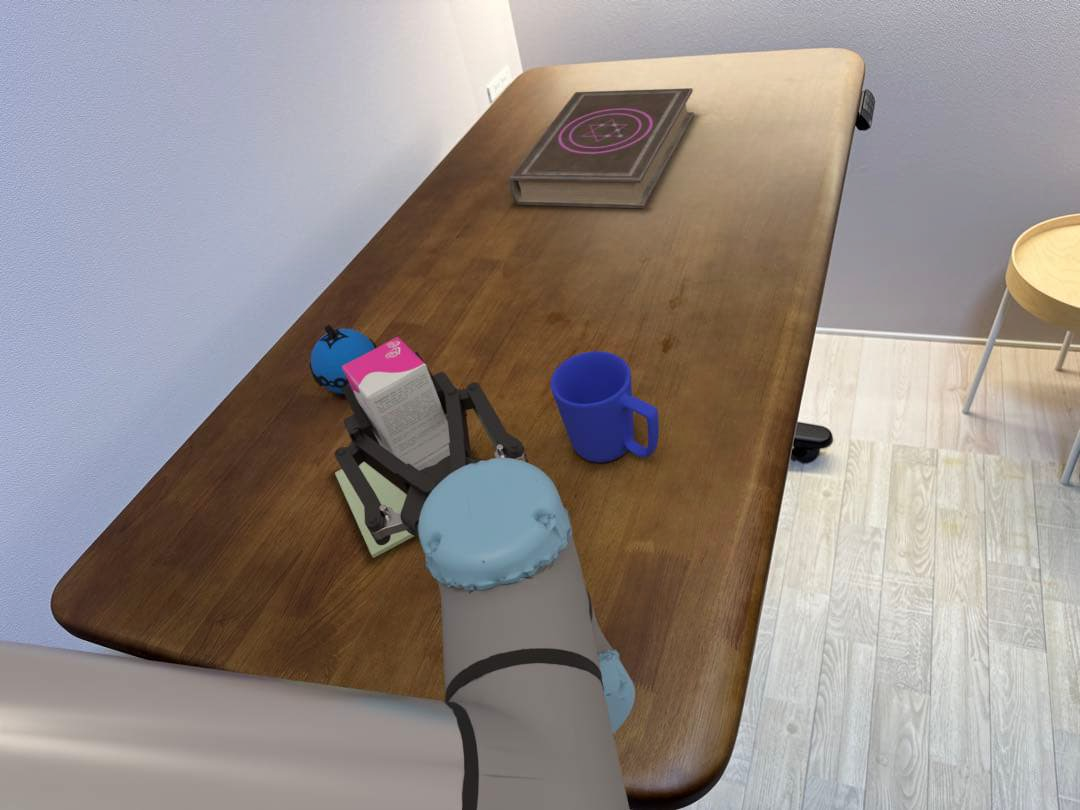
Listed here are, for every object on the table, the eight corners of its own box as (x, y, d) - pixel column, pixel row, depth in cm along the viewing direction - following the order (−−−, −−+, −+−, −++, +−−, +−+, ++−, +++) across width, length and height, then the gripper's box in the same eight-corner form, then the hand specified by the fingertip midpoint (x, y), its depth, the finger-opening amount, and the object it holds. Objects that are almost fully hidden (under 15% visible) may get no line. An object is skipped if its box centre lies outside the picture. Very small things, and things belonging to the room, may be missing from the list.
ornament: (400, 380, 101) (374, 320, 94) (345, 418, 97) (313, 358, 91) (367, 355, 106) (339, 296, 99) (313, 390, 103) (281, 331, 96)
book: (643, 208, 119) (640, 179, 115) (513, 204, 128) (506, 177, 124) (694, 115, 137) (692, 87, 134) (577, 117, 146) (572, 91, 143)
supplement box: (464, 456, 72) (427, 364, 64) (408, 491, 70) (363, 400, 62) (435, 424, 75) (397, 333, 68) (382, 456, 74) (336, 367, 66)
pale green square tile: (373, 558, 81) (371, 555, 80) (336, 475, 90) (334, 472, 90) (492, 494, 84) (491, 490, 83) (444, 421, 93) (442, 417, 93)
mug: (639, 499, 79) (627, 432, 72) (552, 452, 86) (533, 387, 79) (685, 448, 83) (678, 380, 76) (598, 407, 90) (585, 341, 83)
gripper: (379, 643, 57) (304, 454, 73) (604, 518, 61) (485, 366, 77) (341, 586, 51) (269, 397, 68) (589, 454, 55) (465, 305, 72)
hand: (384, 380), depth 72 cm, fingers closed on supplement box, 6 cm apart
